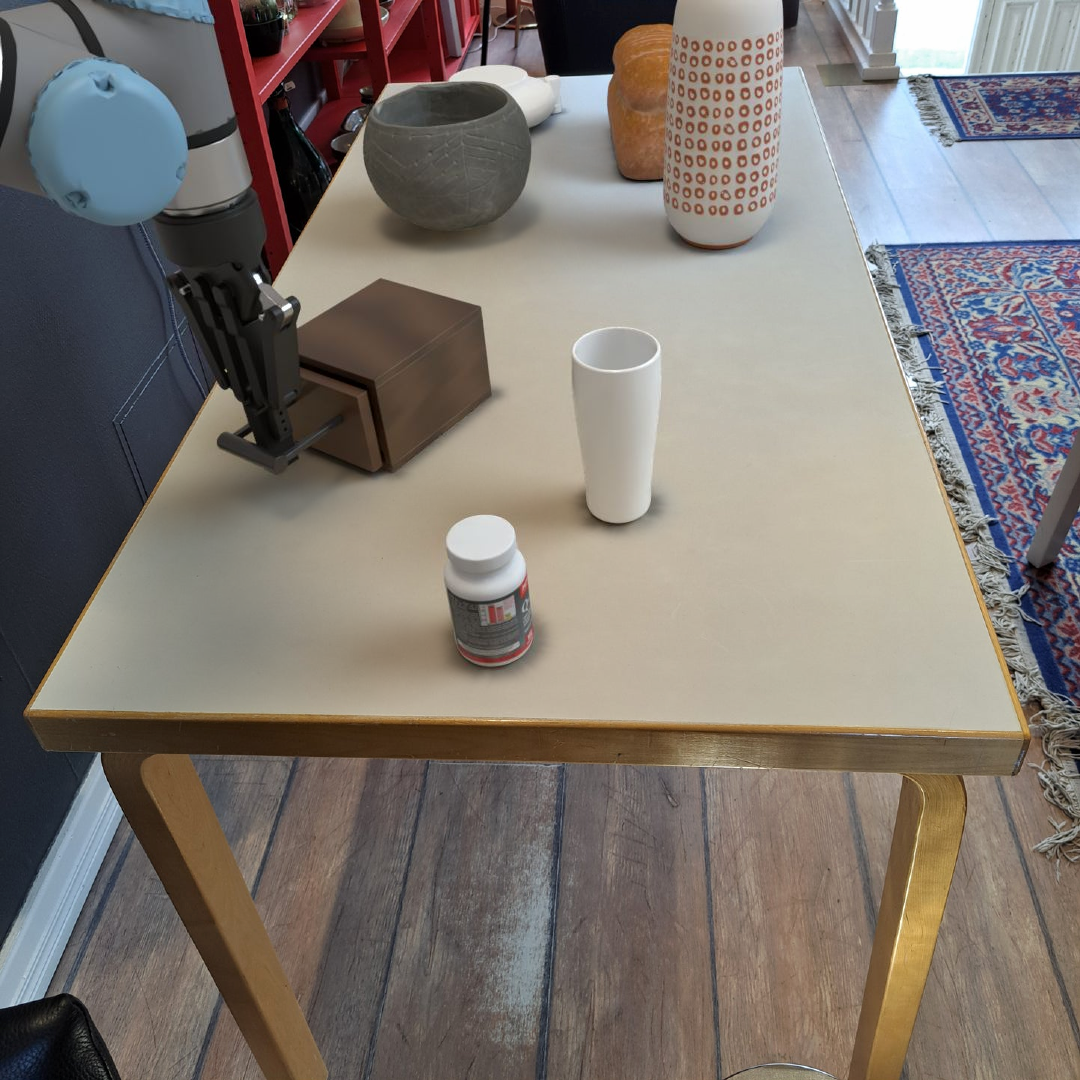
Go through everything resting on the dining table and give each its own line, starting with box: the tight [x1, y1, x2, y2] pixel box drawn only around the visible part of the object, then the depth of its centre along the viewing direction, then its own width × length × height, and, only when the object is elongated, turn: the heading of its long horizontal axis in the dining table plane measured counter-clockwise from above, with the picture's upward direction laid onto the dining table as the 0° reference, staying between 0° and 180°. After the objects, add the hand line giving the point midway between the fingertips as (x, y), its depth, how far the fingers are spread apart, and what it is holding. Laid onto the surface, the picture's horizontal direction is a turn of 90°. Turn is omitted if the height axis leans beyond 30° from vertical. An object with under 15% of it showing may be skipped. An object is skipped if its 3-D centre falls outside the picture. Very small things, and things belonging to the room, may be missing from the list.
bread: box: [606, 23, 673, 181], centre depth 139 cm, size 14×26×15 cm, turn 0°
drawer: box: [216, 361, 383, 475], centre depth 88 cm, size 22×11×8 cm, turn 145°
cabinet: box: [297, 277, 493, 473], centre depth 92 cm, size 15×13×10 cm
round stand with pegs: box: [447, 64, 563, 129], centre depth 155 cm, size 24×24×7 cm
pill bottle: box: [443, 514, 534, 667], centre depth 68 cm, size 6×6×10 cm
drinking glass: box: [570, 326, 663, 524], centre depth 77 cm, size 7×7×15 cm
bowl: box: [362, 81, 532, 232], centre depth 124 cm, size 21×21×15 cm
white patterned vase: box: [662, 0, 784, 250], centre depth 111 cm, size 13×13×28 cm
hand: (281, 463), depth 85 cm, fingers closed
